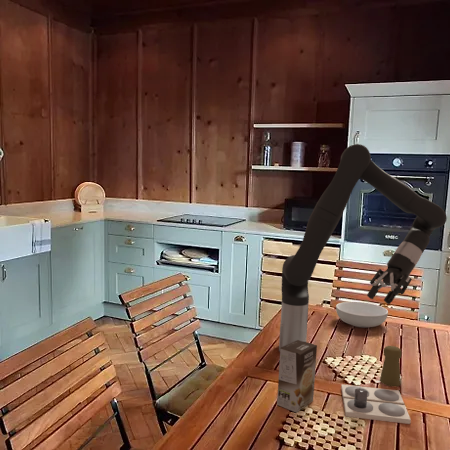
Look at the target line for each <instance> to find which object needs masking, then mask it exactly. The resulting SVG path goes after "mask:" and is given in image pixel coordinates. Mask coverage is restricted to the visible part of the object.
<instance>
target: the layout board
mask: <svg viewBox="0 0 450 450" xmlns="http://www.w3.org/2000/svg"><path fill="white" fill-rule="evenodd" d="M340 387H341V394H342V402H343V408H344V415H345V417H349V418H357V419H363V420H364V419H365V420H375V421H382V422H391V423H399V424H406V425H411V422H412V421H411V420H412V419H411V416H410V415H409V412H408V410H407V407H406V404H405V401H404V400H403V396H402V395H401V393H400V390H396V389H390V388H389V389H388V388H387V389H386V388H379V387H369V386H361V385H360V386H359V385H353V384H351V385H350V384H342V383H341V386H340ZM358 388H361V389H365V390H366V391H367V392H368V394H367V407H366V408H363V409H362V408H357V407H355V406H354V398H355V389H358Z"/></svg>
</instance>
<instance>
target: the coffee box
mask: <svg viewBox="0 0 450 450" xmlns="http://www.w3.org/2000/svg"><path fill="white" fill-rule="evenodd" d="M317 348H318V345H317V344H314V343H311V342H308V341H306V342H303V341H300V340H297V341H294V342H292V343H290V344H288V345H285V346H283V347H281V348H280V351H279V363H278V364H279V366H278V380H277V383H278V384H277V397H276V400H277V401H276V406H278V407H282V408H284V409H286V410H289V411H292V412H294V413H298V412H299V411H301V410H302V409H304V408H305V407H307V406H308V405H309V404H311V403H312V402H314V398H315V397H314V395H315V381H316V368H317V367H316V366H317V365H316V364H317V352H318V351H317V350H318V349H317Z"/></svg>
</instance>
